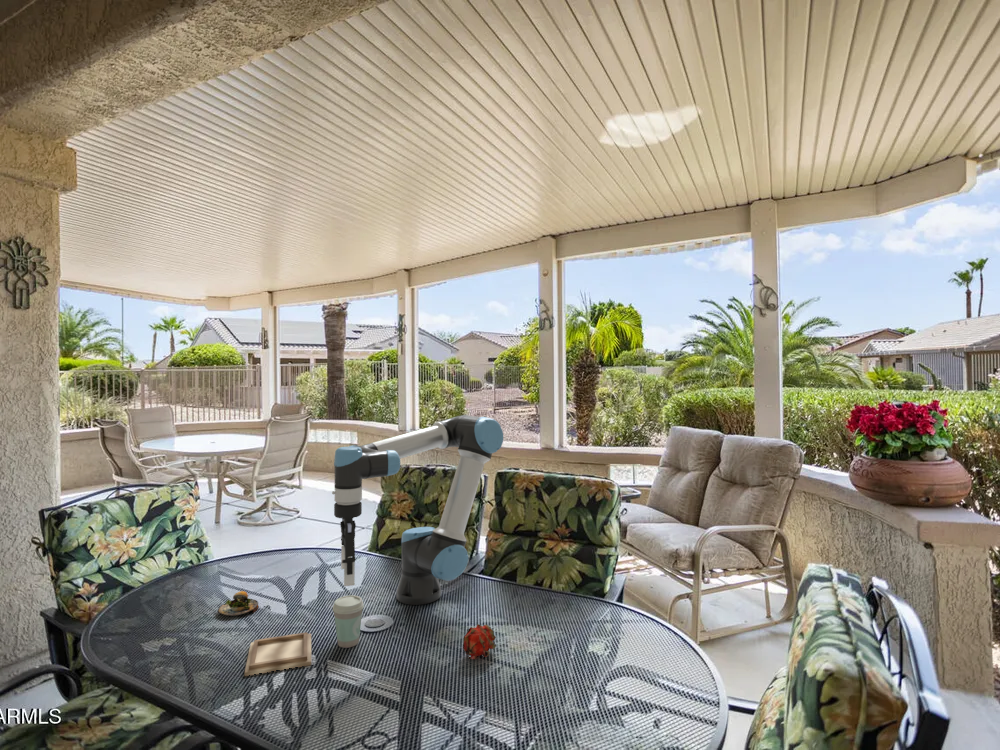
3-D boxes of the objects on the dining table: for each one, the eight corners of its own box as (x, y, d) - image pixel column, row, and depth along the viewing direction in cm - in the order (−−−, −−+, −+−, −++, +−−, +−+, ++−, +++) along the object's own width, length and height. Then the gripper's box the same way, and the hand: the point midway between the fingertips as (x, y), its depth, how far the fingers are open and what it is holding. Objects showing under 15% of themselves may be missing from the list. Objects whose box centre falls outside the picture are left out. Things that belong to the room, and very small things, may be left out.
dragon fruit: (493, 650, 153) (471, 677, 143) (470, 628, 156) (448, 654, 145) (507, 632, 150) (486, 658, 140) (484, 610, 153) (462, 634, 142)
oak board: (311, 636, 158) (311, 630, 158) (311, 665, 143) (311, 657, 143) (251, 646, 153) (250, 639, 153) (244, 676, 138) (244, 668, 137)
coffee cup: (355, 651, 150) (355, 608, 149) (327, 648, 151) (326, 605, 151) (368, 636, 158) (368, 595, 158) (341, 634, 160) (341, 593, 160)
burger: (209, 615, 172) (209, 592, 172) (240, 601, 183) (239, 579, 183) (237, 622, 167) (237, 598, 167) (267, 607, 178) (267, 584, 178)
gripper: (332, 493, 165) (332, 563, 165) (336, 513, 141) (335, 595, 141) (357, 491, 167) (357, 560, 167) (365, 511, 144) (365, 591, 144)
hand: (347, 576), depth 154 cm, fingers open, 13 cm apart
